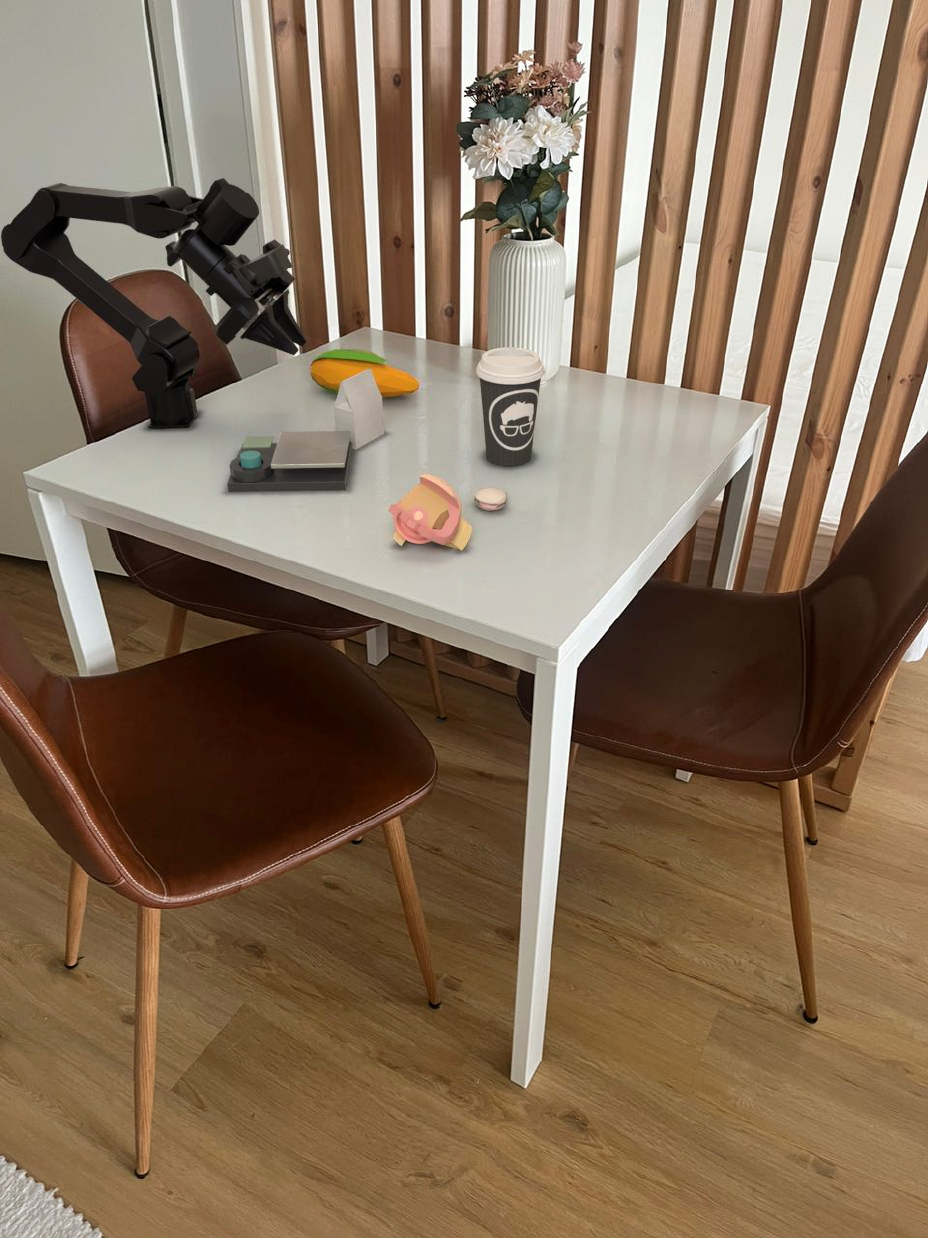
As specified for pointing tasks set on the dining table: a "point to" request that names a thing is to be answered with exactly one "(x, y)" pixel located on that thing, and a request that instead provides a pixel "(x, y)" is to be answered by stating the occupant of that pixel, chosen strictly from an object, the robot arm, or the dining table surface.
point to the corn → (349, 363)
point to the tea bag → (359, 409)
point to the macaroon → (490, 498)
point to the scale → (285, 475)
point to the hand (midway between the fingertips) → (300, 348)
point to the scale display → (258, 442)
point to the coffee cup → (509, 403)
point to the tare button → (250, 459)
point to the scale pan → (311, 449)
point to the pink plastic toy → (430, 515)
